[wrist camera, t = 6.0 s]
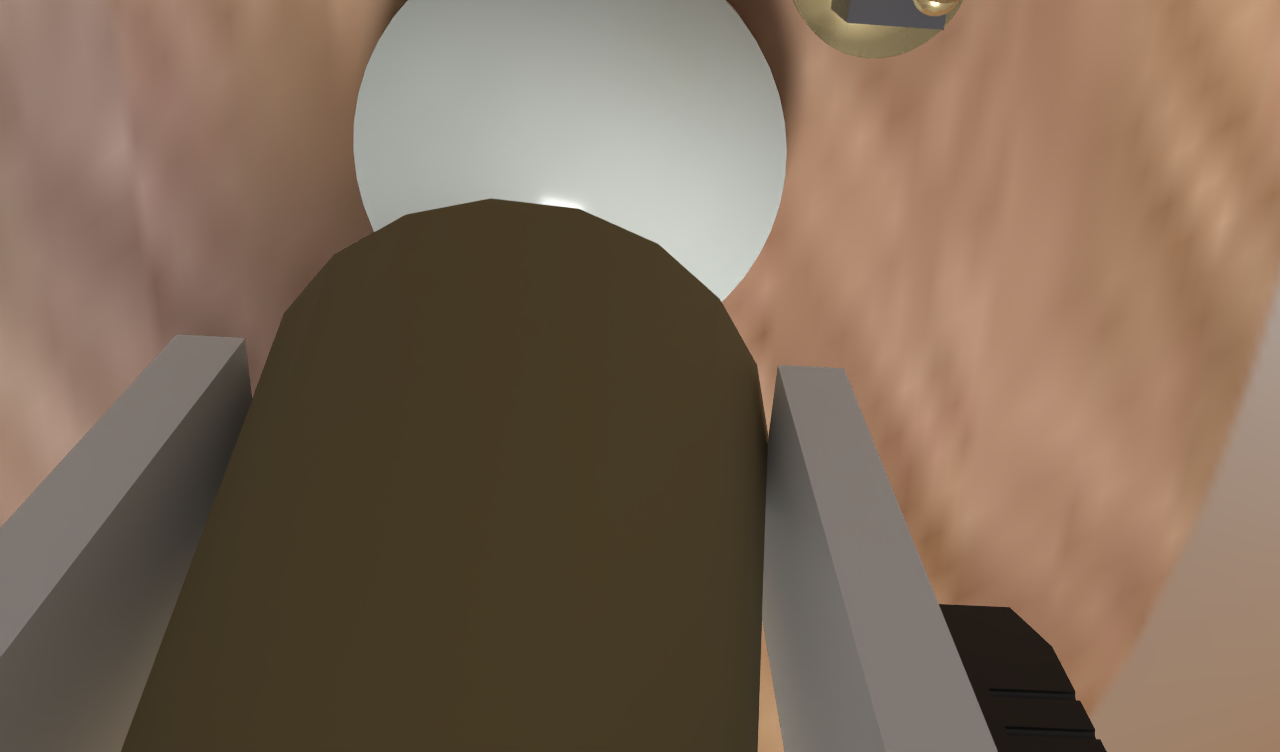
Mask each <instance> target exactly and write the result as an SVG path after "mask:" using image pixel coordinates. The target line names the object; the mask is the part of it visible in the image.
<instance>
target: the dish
mask: <svg viewBox="0 0 1280 752" xmlns="http://www.w3.org/2000/svg"><path fill="white" fill-rule="evenodd" d="M353 151H354V159H355V168H356V177H357V181H358V185H359V189H360V193H361V197H362V201H363V205H364V208H365V210H366V213H367V215H368V218H369V220H370V223H371V226H372V228H373V231H374V232H376V231H377V230H379V229H381V228H383V227H384V226H386V225H388V224H390V223H392V222H393V221H395V220H397V219H399V218H400V217H402V216H404V215H406V214H411V213H417V212H422V211H427V210H432V209H438V208H443V207H448V206H453V205H459V204H464V203H469V202H474V201H480V200H485V199H490V198H492V199H501V200H509V201H518V202H526V203H535V204H543V205H552V206H561V207H569V208H578V209H581V210H583V211H585V212H588V213H590V214H592V215H594V216H597V217H599V218H601V219H603V220H606V221H608V222H610V223H612V224H615V225H617V226H619V227H621V228H624V229H626V230H628V231H630V232H633V233H635V234H637V235H639V236H642V237H644V238H646V239H648V240H651V241H653V242H655V243H657V244H659V245H660V246H661V247H662V248H663V249H665V250H666V251H667V252H668V253H669V254H670V255H671V256H672V257H674V258H675V259H676V260H677V261H678V262H679V263H680V264H681V265H683V266H684V267H685V268H686V269H687V270H688V271H689V272H690V273H691V274H693V275H694V276H695V277H696V278H697V279H698V280H699V281H700V282H702V283H703V284H704V285H705V286H706V287H707V288H708V289H709V290H711V291H712V292H713V293H714V294H715V295H716V296H717V297H718V298H720V300H721V302H722V301H723V300H724V299H725V298H726V297H727V296H728V295H729V294H730V293H731V292H732V290H733V289H734V288H735V287H736V286H737V285H738V284H739V282H740V281H741V280H742V279H743V278H744V277H745V275H746V274H747V272H748V271H749V269H750V268H751V266H752V265H753V263H754V262H755V260H756V259H757V257H758V256H759V254H760V252H761V250H762V248H763V246H764V244H765V242H766V240H767V238H768V236H769V234H770V232H771V229H772V226H773V223H774V220H775V217H776V215H777V212H778V209H779V206H780V201H781V196H782V191H783V186H784V181H785V171H786V156H787V147H786V132H785V121H784V116H783V111H782V106H781V101H780V96H779V93H778V90H777V87H776V84H775V81H774V78H773V76H772V73H771V70H770V67H769V65H768V63H767V61H766V59H765V57H764V55H763V53H762V51H761V49H760V47H759V45H758V43H757V41H756V40H755V38H754V37H753V35H752V33H751V32H750V30H749V29H748V28H747V26H746V25H745V23H744V22H743V20H742V19H741V17H740V16H739V14H738V13H737V12H736V10H735V9H734V8H733V7H732V5H731V4H730V3H729V2H728V1H727V0H408V1H407V2H406V3H405V4H404V5H403V6H402V8H401V9H400V10H399V11H398V12H397V13H396V14H395V16H394V17H393V19H392V20H391V22H390V23H389V25H388V26H387V28H386V30H385V31H384V33H383V34H382V36H381V37H380V39H379V41H378V43H377V45H376V47H375V49H374V51H373V54H372V56H371V58H370V60H369V62H368V64H367V67H366V70H365V73H364V77H363V80H362V83H361V87H360V90H359V93H358V99H357V106H356V112H355V118H354V147H353Z"/></svg>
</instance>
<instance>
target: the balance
mask: <svg viewBox="0 0 1280 752" xmlns="http://www.w3.org/2000/svg"><path fill="white" fill-rule="evenodd" d="M962 1H963V0H793V2H794V4H795V6H796V8H797V10H798V12H799V14H800V16H801V17H802V19H803V20H804V22H805V23H806V24H807V25H808V26H809V27H810V29H811V30H812V31H813V32H814V33H815V34H816V35H817V36H818V37H819V38H820V39H822V40H823V41H824V42H825V43H827V44H828V45H830V46H831V47H833V48H834V49H836V50H839V51H841V52H843V53H845V54H849V55H852V56H856V57H862V58H886V57H892V56H896V55H900V54H903V53H906V52H908V51H911V50H913V49H915V48H917V47H919V46H920V45H922V44H924V43H926V42H927V41H928V40H930V39H931V38H932V37H934V36H935V35H936V34H937V33H938V32H939V31H941V30H943V29H944V27H945V26H946V24H947V23H948V22H949V21H950V20H951V19H952V17H953V16H954V14H955V13H956V12H957V10H958V9H959V7H960V5H961V3H962Z"/></svg>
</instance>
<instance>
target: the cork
mask: <svg viewBox="0 0 1280 752" xmlns="http://www.w3.org/2000/svg"><path fill="white" fill-rule="evenodd" d="M767 452H768V431H767V425H766V419H765V413H764V406H763V400H762V394H761V388H760V381H759V375H758V369H757V364H756V363H755V361H754V359H753V357H752V355H751V354H750V352H749V350H748V348H747V347H746V345H745V343H744V341H743V339H742V338H741V336H740V334H739V332H738V330H737V329H736V327H735V325H734V323H733V322H732V320H731V318H730V316H729V314H728V313H727V311H726V309H725V307H724V306H723V304H722V302H721V300H720V298H718V297H717V296H716V295H715V294H714V293H713V292H712V291H711V290H709V289H708V288H707V287H706V286H705V285H704V284H703V283H702V282H700V281H699V280H698V279H697V278H696V277H695V276H694V275H693V274H691V273H690V272H689V271H688V270H687V269H686V268H685V267H684V266H683V265H681V264H680V263H679V262H678V261H677V260H676V259H675V258H674V257H672V256H671V255H670V254H669V253H668V252H667V251H666V250H665V249H663V248H662V247H661V246H660V245H659V244H657V243H655V242H653V241H651V240H648V239H646V238H644V237H642V236H639V235H637V234H635V233H633V232H630V231H628V230H626V229H624V228H621V227H619V226H617V225H615V224H612V223H610V222H608V221H606V220H603V219H601V218H599V217H597V216H594V215H592V214H590V213H588V212H585V211H583V210H581V209H578V208H569V207H561V206H552V205H543V204H535V203H526V202H518V201H509V200H501V199H492V198H490V199H485V200H480V201H474V202H469V203H464V204H459V205H453V206H448V207H443V208H438V209H432V210H427V211H422V212H417V213H411V214H406V215H404V216H402V217H400V218H399V219H397V220H395V221H393V222H392V223H390V224H388V225H386V226H384V227H383V228H381V229H379V230H377V231H376V232H374V233H372V234H370V235H368V236H367V237H365V238H363V239H361V240H360V241H358V242H356V243H354V244H353V245H351V246H349V247H347V248H345V249H344V250H342V251H340V252H338V253H337V254H335V255H334V256H333V257H332V258H331V259H330V260H329V261H328V263H327V264H326V265H325V266H324V267H323V268H322V270H321V271H320V272H319V273H318V274H317V275H316V277H315V278H314V279H313V280H312V281H311V282H310V284H309V285H308V286H307V287H306V288H305V289H304V291H303V292H302V293H301V294H300V295H299V296H298V298H297V299H296V300H295V301H294V302H293V304H292V305H291V306H290V307H289V308H288V309H287V311H286V312H285V313H284V315H283V318H282V321H281V323H280V326H279V329H278V331H277V334H276V337H275V339H274V342H273V345H272V347H271V350H270V353H269V355H268V358H267V361H266V364H265V366H264V369H263V372H262V374H261V377H260V380H259V382H258V385H257V388H256V390H255V393H254V396H253V398H252V401H251V404H250V406H249V409H248V412H247V414H246V417H245V420H244V422H243V425H242V428H241V430H240V433H239V436H238V439H237V441H236V444H235V447H234V449H233V452H232V455H231V457H230V460H229V463H228V465H227V468H226V471H225V473H224V476H223V479H222V481H221V484H220V487H219V489H218V492H217V495H216V497H215V500H214V503H213V506H212V508H211V511H210V514H209V516H208V519H207V522H206V524H205V527H204V530H203V532H202V535H201V538H200V540H199V543H198V546H197V548H196V551H195V554H194V556H193V559H192V562H191V564H190V567H189V570H188V573H187V575H186V578H185V581H184V583H183V586H182V589H181V591H180V594H179V597H178V599H177V602H176V605H175V607H174V610H173V613H172V615H171V618H170V621H169V623H168V626H167V629H166V631H165V634H164V637H163V640H162V642H161V645H160V648H159V650H158V653H157V656H156V658H155V661H154V664H153V666H152V669H151V672H150V674H149V677H148V680H147V682H146V685H145V688H144V690H143V693H142V696H141V698H140V701H139V704H138V706H137V709H136V712H135V715H134V717H133V720H132V723H131V725H130V728H129V731H128V733H127V736H126V739H125V741H124V744H123V747H122V749H121V752H757V749H758V720H759V690H760V660H761V631H762V601H763V571H764V541H765V512H766V482H767Z"/></svg>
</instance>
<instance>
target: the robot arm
mask: <svg viewBox="0 0 1280 752" xmlns="http://www.w3.org/2000/svg"><path fill="white" fill-rule="evenodd" d="M251 401H252V394H251V385H250V377H249V368H248V359H247V350H246V342H245V338H235V337H215V336H195V335H176V336H175V337H174V338H173V339H172V340H171V341H170V342H169V343H168V344H167V346H166V347H165V348H164V349H163V350H162V351H161V352H160V353H159V354H158V355H157V357H156V358H155V359H154V360H153V361H152V362H151V363H150V364H149V365H148V366H147V368H146V369H145V370H144V371H143V372H142V373H141V374H140V375H139V376H138V377H137V379H136V380H135V381H134V382H133V383H132V384H131V385H130V386H129V387H128V388H127V390H126V391H125V392H124V393H123V394H122V395H121V396H120V397H119V398H118V399H117V401H116V402H115V403H114V404H113V405H112V406H111V407H110V408H109V409H108V410H107V412H106V413H105V414H104V415H103V416H102V417H101V418H100V419H99V420H98V421H97V422H96V424H95V425H94V426H93V427H92V428H91V429H90V430H89V431H88V432H87V433H86V435H85V436H84V437H83V438H82V439H81V440H80V441H79V442H78V443H77V444H76V446H75V447H74V448H73V449H72V450H71V451H70V452H69V453H68V454H67V455H66V457H65V458H64V459H63V460H62V461H61V462H60V463H59V464H58V465H57V466H56V468H55V469H54V470H53V471H52V472H51V473H50V474H49V475H48V476H47V477H46V479H45V480H44V481H43V482H42V483H41V484H40V485H39V486H38V487H37V488H36V490H35V491H34V492H33V493H32V494H31V495H30V496H29V497H28V498H27V499H26V501H25V502H24V503H23V504H22V505H21V506H20V507H19V508H18V509H17V510H16V512H15V513H14V514H13V515H12V516H11V517H10V518H9V519H8V520H7V521H6V522H5V524H4V525H3V526H2V527H1V528H0V752H121V749H122V747H123V744H124V741H125V739H126V736H127V733H128V731H129V728H130V725H131V723H132V720H133V717H134V715H135V712H136V709H137V706H138V704H139V701H140V698H141V696H142V693H143V690H144V688H145V685H146V682H147V680H148V677H149V674H150V672H151V669H152V666H153V664H154V661H155V658H156V656H157V653H158V650H159V648H160V645H161V642H162V640H163V637H164V634H165V631H166V629H167V626H168V623H169V621H170V618H171V615H172V613H173V610H174V607H175V605H176V602H177V599H178V597H179V594H180V591H181V589H182V586H183V583H184V581H185V578H186V575H187V573H188V570H189V567H190V564H191V562H192V559H193V556H194V554H195V551H196V548H197V546H198V543H199V540H200V538H201V535H202V532H203V530H204V527H205V524H206V522H207V519H208V516H209V514H210V511H211V508H212V506H213V503H214V500H215V497H216V495H217V492H218V489H219V487H220V484H221V481H222V479H223V476H224V473H225V471H226V468H227V465H228V463H229V460H230V457H231V455H232V452H233V449H234V447H235V444H236V441H237V439H238V436H239V433H240V430H241V428H242V425H243V422H244V420H245V417H246V414H247V412H248V409H249V406H250V404H251ZM762 620H763V626H764V632H765V638H766V644H767V650H768V656H769V662H770V668H771V674H772V680H773V686H774V692H775V698H776V704H777V710H778V716H779V722H780V728H781V733H782V739H783V745H784V751H785V752H1107V751H1106V750H1105V748H1104V746H1103V744H1102V742H1101V740H1098V739H1096V738H1095V728H1094V727H1093V725H1092V723H1091V721H1090V719H1089V717H1088V715H1087V713H1086V711H1085V709H1084V707H1083V705H1082V703H1081V702H1080V701H1076V699H1075V690H1074V688H1073V686H1072V684H1071V682H1070V680H1069V678H1068V677H1067V675H1066V673H1065V671H1064V669H1063V667H1062V665H1061V663H1060V661H1059V659H1058V657H1057V655H1056V653H1055V652H1054V650H1053V648H1052V646H1051V645H1050V644H1049V643H1047V642H1046V641H1045V640H1044V639H1043V638H1042V637H1041V636H1040V635H1039V634H1038V633H1037V632H1036V631H1035V630H1033V629H1032V628H1031V627H1030V626H1029V625H1028V624H1027V623H1026V622H1025V621H1024V620H1023V619H1022V618H1020V617H1019V616H1018V615H1017V614H1016V613H1015V612H1014V611H1013V610H1012V609H1011V608H1010V607H990V606H967V605H944V604H938V601H937V599H936V596H935V594H934V591H933V589H932V586H931V584H930V581H929V579H928V576H927V574H926V571H925V569H924V566H923V564H922V561H921V559H920V557H919V554H918V552H917V549H916V547H915V544H914V542H913V539H912V537H911V534H910V532H909V529H908V527H907V524H906V522H905V519H904V517H903V514H902V512H901V509H900V507H899V504H898V502H897V499H896V497H895V494H894V492H893V489H892V487H891V484H890V482H889V479H888V477H887V474H886V472H885V469H884V467H883V464H882V462H881V459H880V457H879V454H878V452H877V449H876V447H875V444H874V442H873V439H872V437H871V434H870V432H869V429H868V427H867V425H866V422H865V420H864V417H863V415H862V412H861V410H860V407H859V405H858V402H857V400H856V397H855V395H854V392H853V390H852V387H851V385H850V382H849V380H848V377H847V375H846V372H845V370H844V368H829V367H809V366H789V365H778V368H777V376H776V384H775V391H774V399H773V407H772V414H771V422H770V430H769V437H768V452H767V482H766V512H765V541H764V571H763V601H762Z"/></svg>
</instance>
